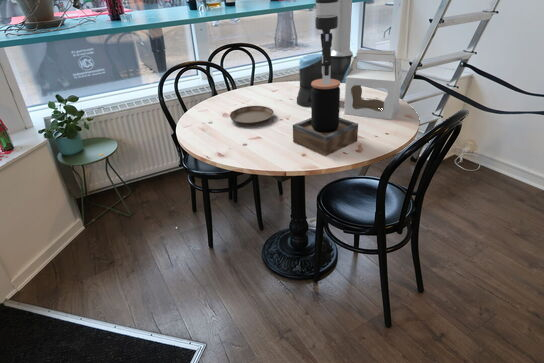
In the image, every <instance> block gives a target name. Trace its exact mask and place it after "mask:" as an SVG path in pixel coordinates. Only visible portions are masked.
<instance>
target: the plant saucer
mask: <svg viewBox="0 0 544 363" xmlns="http://www.w3.org/2000/svg"><path fill="white" fill-rule="evenodd" d="M274 114H275V111H274V109H272V108H271V107H268V106H264V105H248V106H242V107H238V108H237V109H235V110H233V111H231V112H230V114H229V118H230V120H231V121H233V122H234V123H235V124H236V125H240V126H244V127H256V126H260V125H263V124H266V123H267V122H268V123H269V121H270V120H272V117H273V116H274Z"/></svg>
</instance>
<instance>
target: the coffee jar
mask: <svg viewBox="0 0 544 363" xmlns="http://www.w3.org/2000/svg"><path fill="white" fill-rule="evenodd" d="M322 83H323V79H318V80H314V81H313V82H312V83H311V86H312V90H311V107H310V108H311V111H310V112H311V114H310V115H311V117H310V118H311V126H312V127H313V129H314V130H315V131H317V132H322V133H327V132H333V131H335V130H336V129H337V128H338V126H339V118H340V104H341V103H340V101H341V98H340V97H341V88H340V86H341V83H340V81H339V80H336V79H330V84H322Z"/></svg>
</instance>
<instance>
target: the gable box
mask: <svg viewBox="0 0 544 363" xmlns="http://www.w3.org/2000/svg"><path fill="white" fill-rule="evenodd" d="M354 57H355V58H354ZM359 61H360V62H363V61H366V62H378V63H379V62H381V63H382V62H383V63H392V64H393V66H392V67H393V68H392V70H379V69H367V68H366V69H365V68H364V69H363V68H358V62H359ZM401 63H402V59H400V58H397V56H396V51H394V50H383V49H382V50H381V49H380V50H379V49H378V50H377V49H358V50H357V52H356V55H355V56H353V57H351V64H350V69H349V71H348V73H347V76H346V83H344V84H345V85H344V86H345V87H344V88H345V91H344V109H343V110H344V112H343V115H350V116H358V117H363V116H364V117H366V118H371V117H372V118H373V119H379V118H382V120H388V119H389V120H388V121H390V120H391V121H392V120H393V119H394V117H395V116H396V114H397V113H398V110H399V104H400V97H401V95H400V94H401V89H402V88H401V87H402V78H403V71H402V68H401V66H402V64H401ZM362 87H366V88H371V89H372V88H373V89H384V90H387V95H386V97H385V98H384V101H383V100H381V99H373V98H372V99H363V98H362V94H363V89H362ZM378 108H380V109H381V108H383V110H382V109H381V110H382V111H381V110H380V109H378ZM372 118H371V119H372Z"/></svg>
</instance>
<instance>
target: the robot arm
mask: <svg viewBox="0 0 544 363" xmlns="http://www.w3.org/2000/svg"><path fill="white" fill-rule="evenodd" d="M352 7H353V0H315V5H314V6H313V9H314V10H315V16H316V17H314V18H315V21H314V22H315V29H316V30H320V31H322V32H321V33H320V42H321V43H320V44H321V53H312V54H311V53H310V54H307V55H305V56H302V57H301V58H300V59H299V65H298V66H299V67H298V69H299V70H298V71H299V72H298V74H299V90H298V93H297V97H296V105H298V106H301V107H306V108H311V90H312V86H311V83H312V82H313V81H314V80H318V79H323V83H322V84H330V79H336V80H339V81H340V84H346V76H347V73H348V71H349V69H350V64H351V57H354V58H355V56H354V52H352V50H351V33H352V14H353V13H352V9H353V8H352Z"/></svg>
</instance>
